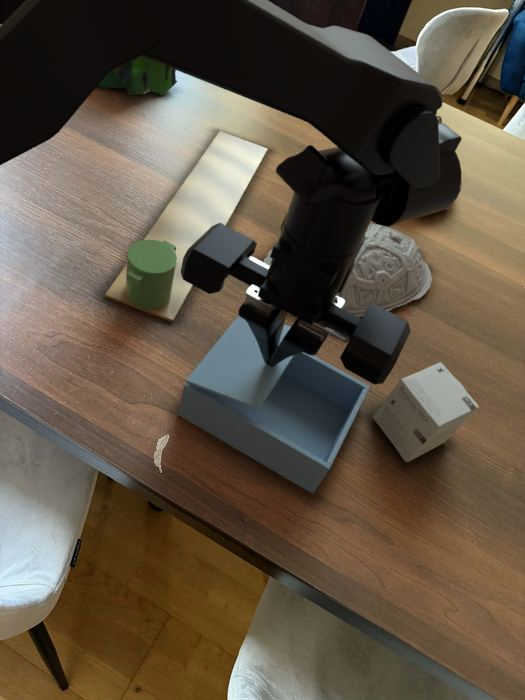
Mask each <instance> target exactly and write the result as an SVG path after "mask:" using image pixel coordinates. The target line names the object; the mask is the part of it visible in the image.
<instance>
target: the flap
mask: <svg viewBox="0 0 525 700" xmlns="http://www.w3.org/2000/svg"><path fill="white" fill-rule="evenodd" d="M291 326H292V325H291ZM291 326H290V325H288V324H285V323H284V326H283V330H282V334H281V338H280V341H279V344H280V343H281V341H282V340H283V338H284V336H285V335H286V333H287V332H288V331H289V329H290V328H291ZM278 346H279V345H278ZM294 356H295V355H293V356H290V357H288V358H286V359H284V360H283V361H281V362H280V363H278V364H277V365H275V366H274V367H271V366H269V365H267V364H266V363H265V362H264V360H263V357H262V354H261V351H260V348H259V346H258V343H257V341H256V338H255V336H254V334H253V333H252V331H251V329H250V327H249V325H248V323H247V321H246V320H244V319H242V318H241V317H240V316H239V315H237V316H236V318H235V319H234V320H233V321H232V322H231V324H230V325H229V327H228V328H227V329H226V330H225V331H224V333H223V334H222V335H221V336H220V337H219V339H218V340H217V341H216V343H215V344H214V345H213V346H212V347H211V348H210V350H209V351H208V353H206V354H205V356H204V357H203V358H202V360H201V361H200V362H199V363H198V365H196V367H195V368H194V369H193V370H192V372H191V373H190V374H189V376H188V377H187V378H186V379H185V384H186V383H189V384H191V385H194V386H196V387H199V388H202V389H204V390H207V391H209V392H212V393H215V394H217V395H220V396H222V397H225V398H228V399H230V400H233V401H235V402H238V403H241V404H243V405H246V406H248V407H251V408H254V409H256V410H259V409H260V408H261V406H262V404H263V403H264V401H265V400H266V398H267V397H268V395H269V394H270V392H271V391H272V389H273V388H274V386H275V385H276V383H277V382H278V380H279V379H280V377H281V375H282V374H283V372H284V371H285V369H286V368H287V366H288V365H289V363H290V362H291V360H292V359H293V357H294Z"/></svg>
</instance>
